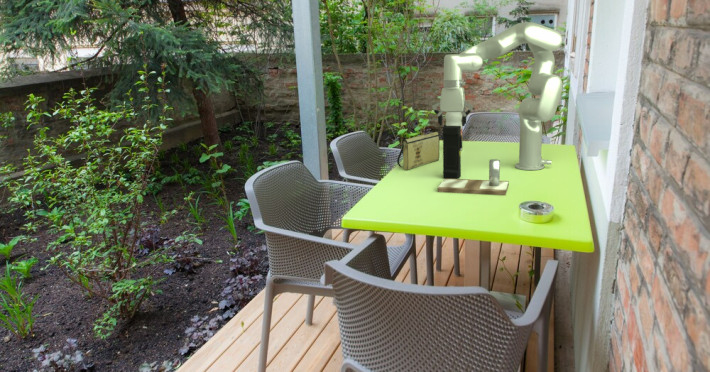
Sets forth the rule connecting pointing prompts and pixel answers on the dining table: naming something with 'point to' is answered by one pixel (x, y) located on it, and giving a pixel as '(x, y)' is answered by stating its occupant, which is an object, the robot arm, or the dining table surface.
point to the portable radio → (452, 152)
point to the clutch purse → (420, 150)
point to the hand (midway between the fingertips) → (452, 125)
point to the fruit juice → (454, 119)
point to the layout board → (472, 187)
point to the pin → (494, 172)
